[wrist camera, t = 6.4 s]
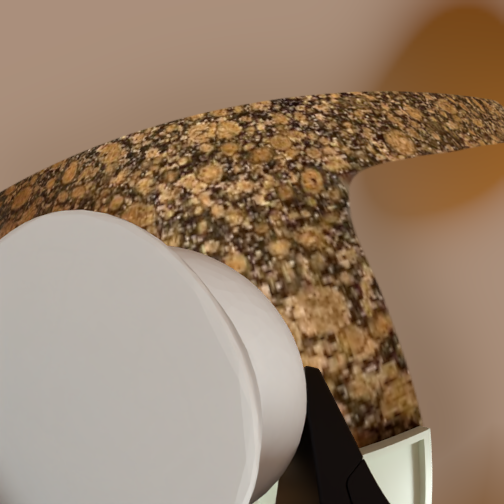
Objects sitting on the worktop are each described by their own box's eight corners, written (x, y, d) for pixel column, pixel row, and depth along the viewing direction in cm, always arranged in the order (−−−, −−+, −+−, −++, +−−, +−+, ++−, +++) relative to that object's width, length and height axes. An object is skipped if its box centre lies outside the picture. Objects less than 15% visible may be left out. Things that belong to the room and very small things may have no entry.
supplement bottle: (148, 319, 15) (-43, 187, 3) (270, 312, 15) (312, 111, 3) (155, 438, 13) (-40, 522, 1) (281, 435, 13) (363, 613, 1)
